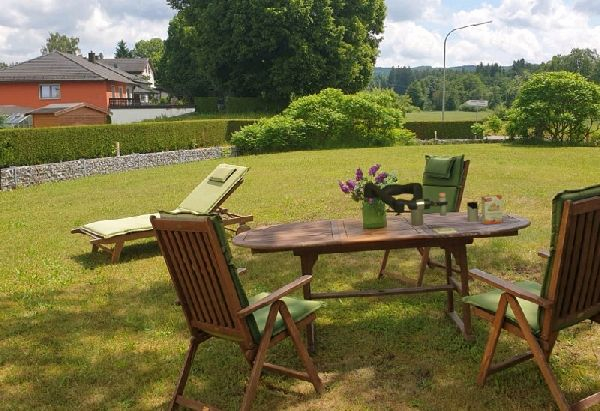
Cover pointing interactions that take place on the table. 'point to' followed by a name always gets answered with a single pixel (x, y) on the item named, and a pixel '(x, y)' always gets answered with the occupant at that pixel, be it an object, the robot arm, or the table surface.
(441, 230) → the paper sheet
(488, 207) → the cracker box
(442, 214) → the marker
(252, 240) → the table surface
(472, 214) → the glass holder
